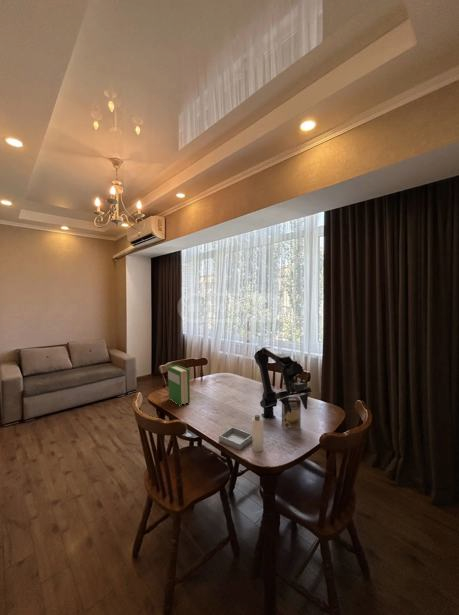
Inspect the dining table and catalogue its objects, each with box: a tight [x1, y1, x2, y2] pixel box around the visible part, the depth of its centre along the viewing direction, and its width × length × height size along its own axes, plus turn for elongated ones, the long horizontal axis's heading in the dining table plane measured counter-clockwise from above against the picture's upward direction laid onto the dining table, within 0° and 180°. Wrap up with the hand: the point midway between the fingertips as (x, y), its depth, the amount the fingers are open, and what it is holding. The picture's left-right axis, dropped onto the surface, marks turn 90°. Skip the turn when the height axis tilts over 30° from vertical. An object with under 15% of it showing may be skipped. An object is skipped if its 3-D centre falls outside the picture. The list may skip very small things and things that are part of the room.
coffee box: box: [281, 395, 302, 430], centre depth 138 cm, size 9×6×16 cm
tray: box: [218, 426, 252, 452], centre depth 126 cm, size 11×13×3 cm
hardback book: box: [167, 364, 191, 407], centre depth 176 cm, size 18×7×24 cm, turn 39°
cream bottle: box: [251, 414, 264, 453], centre depth 119 cm, size 5×5×16 cm
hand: (298, 410), depth 124 cm, fingers open, 9 cm apart
